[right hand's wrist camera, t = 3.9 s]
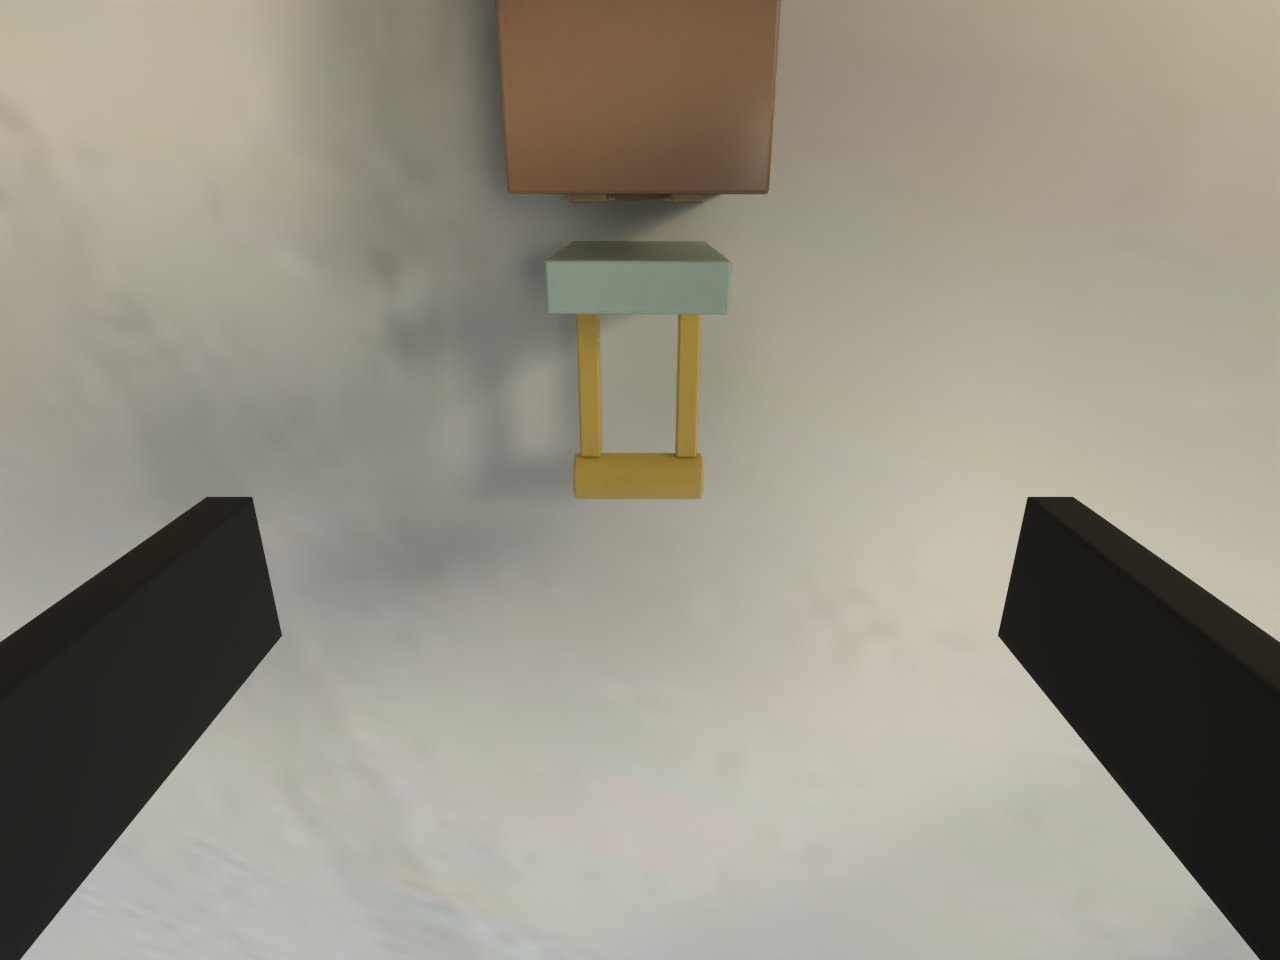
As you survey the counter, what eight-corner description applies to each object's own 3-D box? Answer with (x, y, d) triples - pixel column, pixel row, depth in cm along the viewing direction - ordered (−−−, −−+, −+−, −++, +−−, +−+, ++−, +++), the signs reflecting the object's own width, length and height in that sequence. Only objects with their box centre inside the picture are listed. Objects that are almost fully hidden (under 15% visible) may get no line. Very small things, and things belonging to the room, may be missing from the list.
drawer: (699, 456, 25) (718, 546, 19) (578, 456, 25) (557, 545, 19) (734, -597, 16) (796, -1117, 10) (545, -597, 16) (481, -1118, 10)
